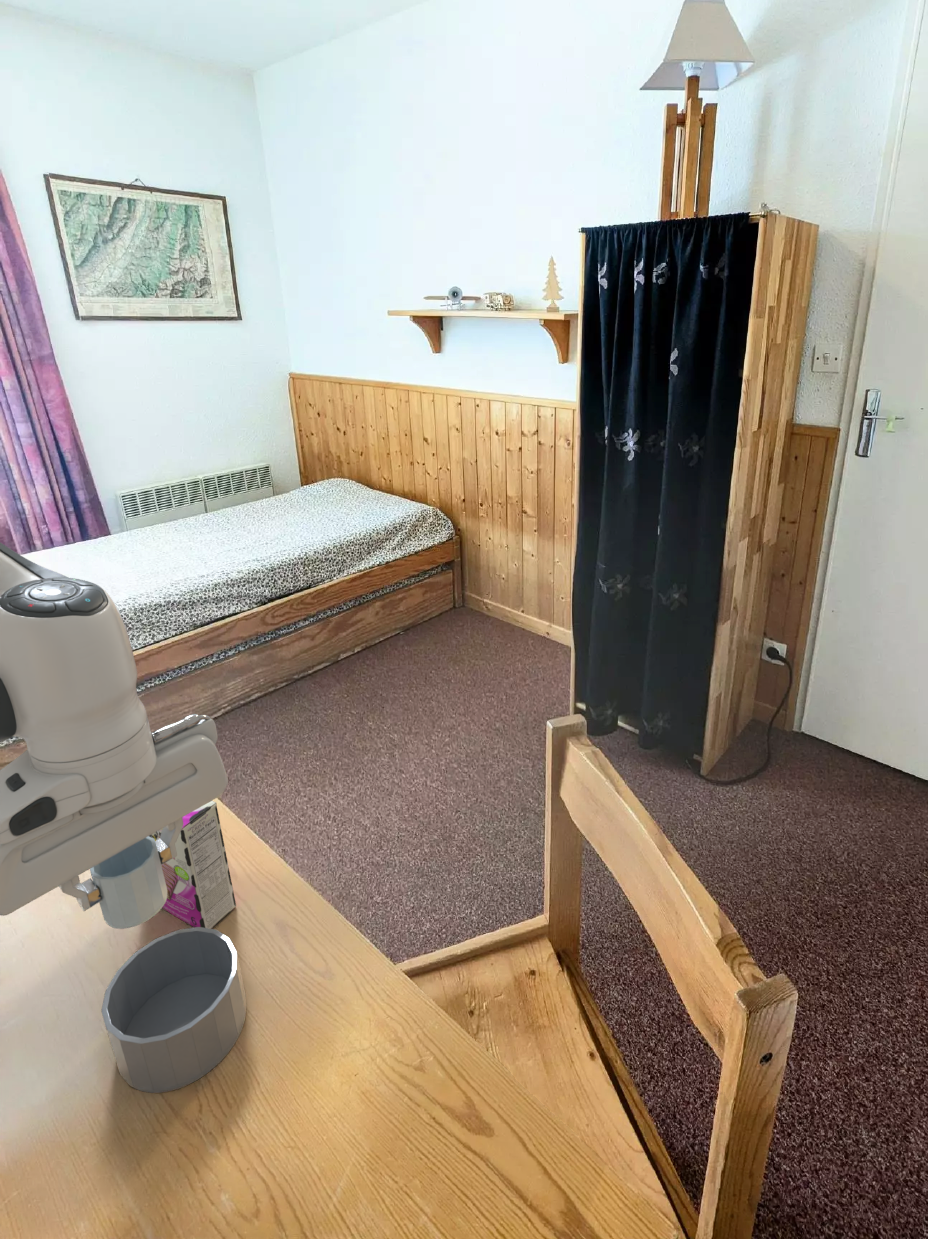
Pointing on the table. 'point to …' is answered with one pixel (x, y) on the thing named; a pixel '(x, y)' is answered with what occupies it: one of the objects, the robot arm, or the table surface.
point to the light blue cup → (131, 885)
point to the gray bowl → (175, 1009)
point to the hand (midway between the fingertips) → (129, 880)
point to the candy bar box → (199, 871)
